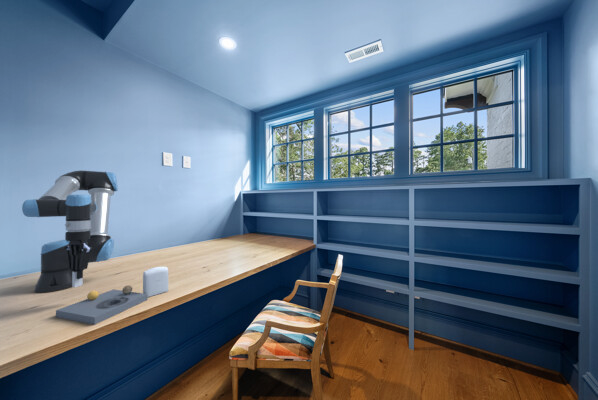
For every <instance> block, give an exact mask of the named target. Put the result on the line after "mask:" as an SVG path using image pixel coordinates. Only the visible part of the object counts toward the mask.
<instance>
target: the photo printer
mask: <svg viewBox="0 0 598 400" xmlns="http://www.w3.org/2000/svg"><path fill="white" fill-rule="evenodd" d="M168 291H169V268H168V267H167V266H157V267H156V266H155V267H153V268H149V269H146V270H145V271H143V273H142V293H143V294H148V298H149V297H154V296H156V295H160V294H164V293H166V292H168Z"/></svg>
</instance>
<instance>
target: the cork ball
mask: <svg viewBox="0 0 598 400" xmlns="http://www.w3.org/2000/svg"><path fill="white" fill-rule="evenodd" d="M122 292H123V293H124V294H129V293H130V292H133V287H132V285H125V286H124V287H123V288H122Z"/></svg>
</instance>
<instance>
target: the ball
mask: <svg viewBox="0 0 598 400" xmlns="http://www.w3.org/2000/svg"><path fill="white" fill-rule="evenodd" d="M99 294H100V293H99V292H98V291H97V290H91V291H90V292H88V293H87V294H86V295H87V298H86V299H89V300H94V299H96V298H97V297H98V295H99Z"/></svg>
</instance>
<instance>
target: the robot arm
mask: <svg viewBox="0 0 598 400" xmlns="http://www.w3.org/2000/svg"><path fill="white" fill-rule="evenodd" d="M118 190H119V187H118V179H117V175H116V174H115V173H114V172H109V171H95V170H73V171H71V172H67V173H65V174H61V175H60V176H59V177H57V179H55V181H54V184H53V185H52V186H51V187H50V188H49V189H48V190H47V191H45V192H44V194H43V195H41V196H40V197H39V198H38V199H35V198H33V199H26V200H24V201H23V203H22V205H21V209H22V210H21V211H22V214H23V215H24V216H25V217H28V218H47V217H50V218H51V217H55V218H56V217H65V224H64V226H65V231H66V232H65V235H64V237H65V238H64V239H61V240H57V241H56V240H55V241H52V242H51V241H50V242H47V243H44V244H43V245H42V246H41V250H40V251H41V252H40V276H39V278H38V280H37V282H36V284H35V287H34V292H35V293H42V294H43V293H51V292H52V293H53V292H57V291H62V290H65V289H69V288H77V287H81V286H83V283H84V280H83V279H84V278H83V277H84V271H85V270H87V269H88V268H89V267H88V266H89V263H90V264H91V263H99V262H105V261H108V260H109V259H111V257H112V254H113V252H114V251H113V250H114V245H115V241H114V239H112V237H111V235H110V234H108V229H109V218H110V209H111V207H110V206H111V197H112V196H114V195H115V192H118ZM77 191H87V193H88V194H73V193H75V192H77Z"/></svg>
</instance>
